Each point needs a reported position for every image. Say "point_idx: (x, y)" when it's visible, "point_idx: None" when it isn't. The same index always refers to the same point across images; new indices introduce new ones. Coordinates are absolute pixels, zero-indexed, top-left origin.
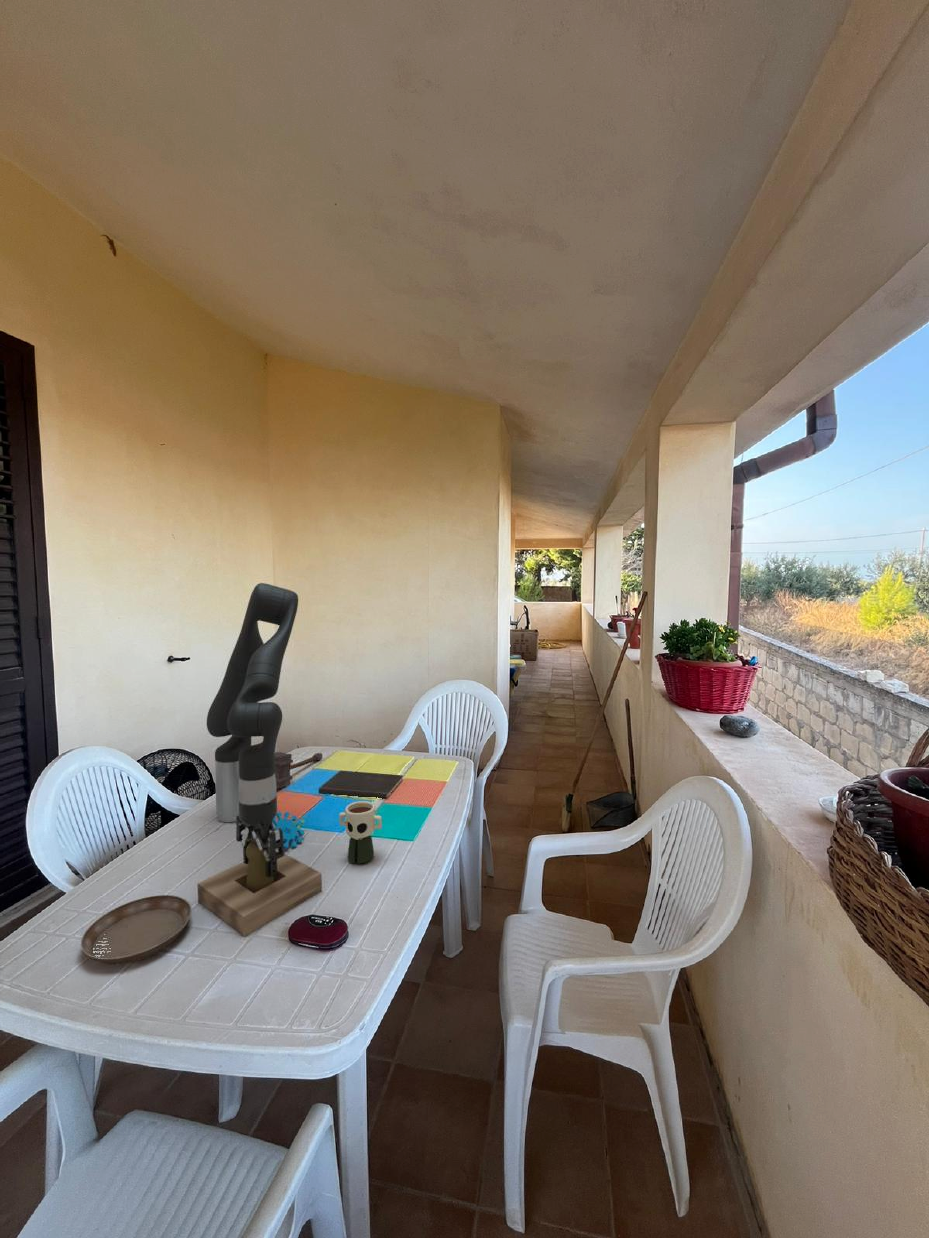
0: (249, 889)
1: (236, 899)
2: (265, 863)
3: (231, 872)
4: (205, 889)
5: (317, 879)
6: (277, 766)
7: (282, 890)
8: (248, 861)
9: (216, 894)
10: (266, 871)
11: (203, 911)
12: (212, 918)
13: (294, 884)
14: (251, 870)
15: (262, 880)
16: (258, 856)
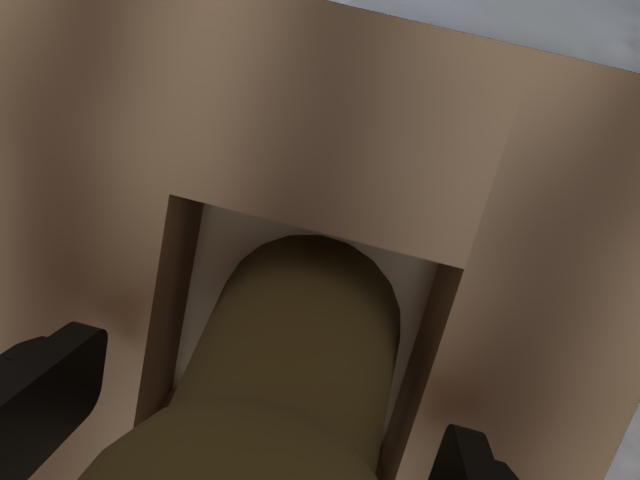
0: (304, 259)
1: (226, 71)
2: (16, 396)
3: (578, 347)
4: (617, 70)
5: None
6: None
7: (15, 300)
8: (442, 455)
9: (450, 52)
10: (58, 346)
11: (537, 43)
12: (416, 15)
13: None
14: (268, 337)
15: (205, 327)
16: (103, 452)
